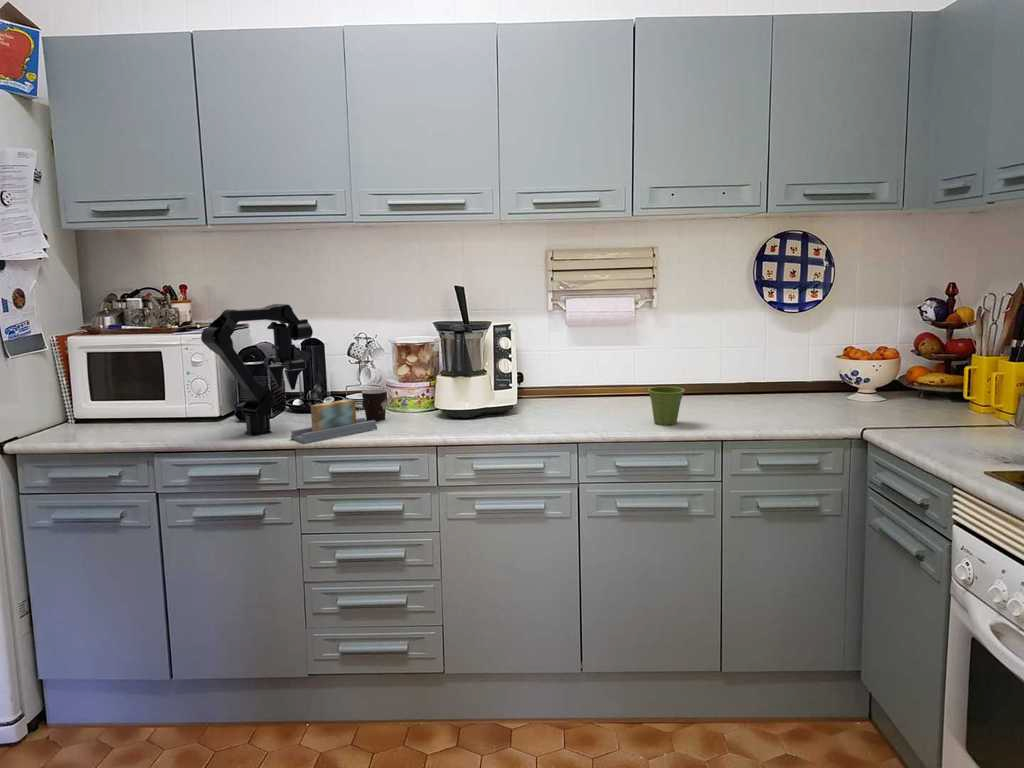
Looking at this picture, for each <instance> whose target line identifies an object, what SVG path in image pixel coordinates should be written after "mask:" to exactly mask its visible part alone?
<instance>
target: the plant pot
mask: <svg viewBox="0 0 1024 768" xmlns="http://www.w3.org/2000/svg"><path fill="white" fill-rule="evenodd" d="M647 391H648V392H649V393H648V394H649V398H650V402H651V408H652V416H653V422H654V423H655V424H657V425H660V426H669V425H676V424H677V423H678V417H679V412H680V407H681V401H682V399H683V394H684V392H685V391H686V389H684V388H681V387H677V386H654V387H653V386H652V387H649V388H647Z"/></svg>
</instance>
